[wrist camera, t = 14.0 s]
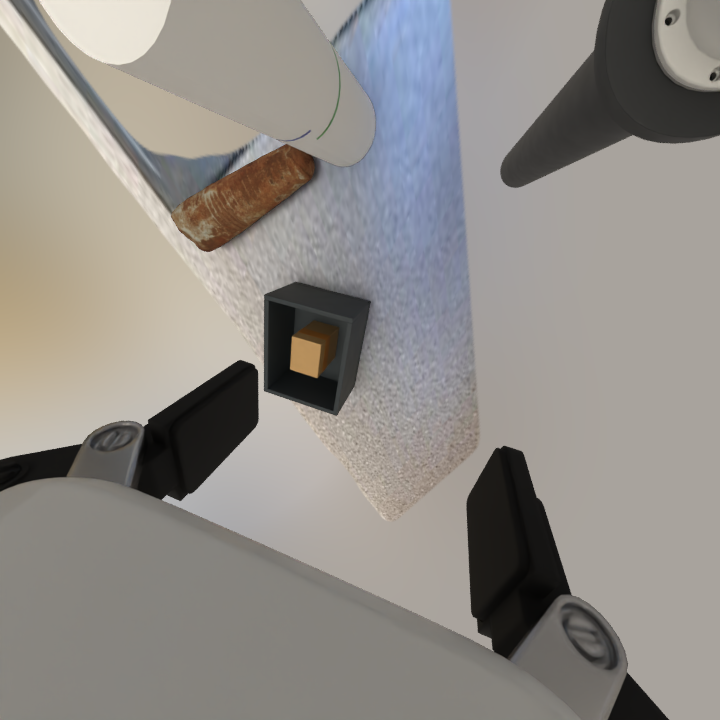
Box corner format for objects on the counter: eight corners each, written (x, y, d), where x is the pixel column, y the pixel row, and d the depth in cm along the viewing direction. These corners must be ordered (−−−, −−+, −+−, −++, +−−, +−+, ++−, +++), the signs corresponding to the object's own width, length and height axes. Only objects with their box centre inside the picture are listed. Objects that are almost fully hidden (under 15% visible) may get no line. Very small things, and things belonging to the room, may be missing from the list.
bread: (196, 206, 39) (161, 205, 35) (308, 133, 32) (282, 118, 27) (219, 252, 41) (189, 256, 37) (330, 193, 34) (309, 189, 29)
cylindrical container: (304, 102, 30) (-48, -169, 9) (365, 68, 28) (69, -432, 6) (325, 176, 33) (89, 101, 12) (383, 151, 30) (214, -6, 9)
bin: (295, 281, 40) (263, 294, 33) (370, 301, 38) (353, 318, 31) (290, 366, 47) (263, 391, 40) (354, 386, 45) (336, 416, 38)
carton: (313, 319, 41) (291, 335, 35) (339, 327, 40) (321, 344, 35) (310, 350, 43) (289, 369, 38) (335, 357, 43) (317, 378, 37)
